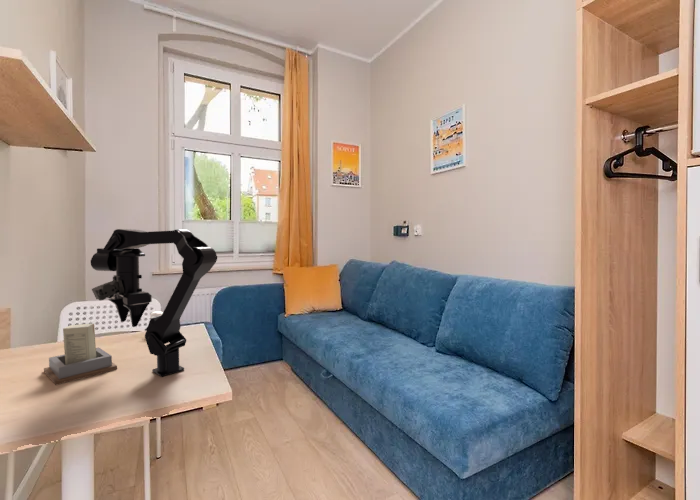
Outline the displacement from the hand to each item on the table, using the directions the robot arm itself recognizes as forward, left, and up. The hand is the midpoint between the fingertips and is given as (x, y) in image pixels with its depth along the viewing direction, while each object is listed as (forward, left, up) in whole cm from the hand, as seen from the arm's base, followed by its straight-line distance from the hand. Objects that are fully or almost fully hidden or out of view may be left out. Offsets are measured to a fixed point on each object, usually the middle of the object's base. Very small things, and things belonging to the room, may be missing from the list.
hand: (128, 323), depth 102 cm
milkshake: (+30, -20, -13) cm, 38 cm away
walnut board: (+8, +10, -13) cm, 18 cm away
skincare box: (+8, +10, -12) cm, 18 cm away
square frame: (+8, +10, -12) cm, 18 cm away
